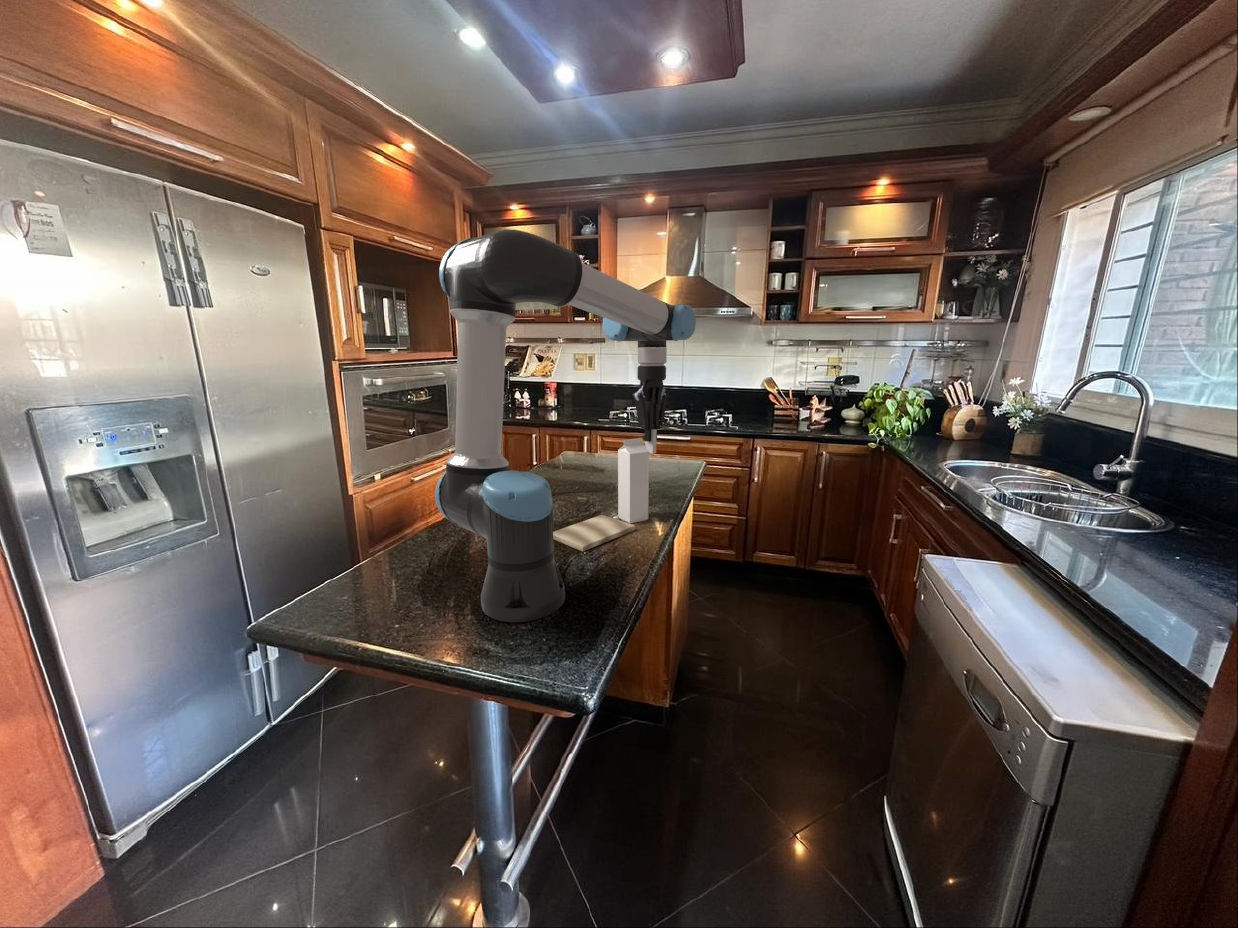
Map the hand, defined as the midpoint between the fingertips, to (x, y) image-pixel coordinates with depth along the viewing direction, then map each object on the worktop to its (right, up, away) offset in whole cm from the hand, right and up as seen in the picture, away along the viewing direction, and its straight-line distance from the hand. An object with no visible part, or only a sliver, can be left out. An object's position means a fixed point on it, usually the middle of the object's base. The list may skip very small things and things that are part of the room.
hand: (650, 452), depth 131 cm
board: (-15, -21, -12) cm, 28 cm away
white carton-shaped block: (-5, -18, -1) cm, 19 cm away
